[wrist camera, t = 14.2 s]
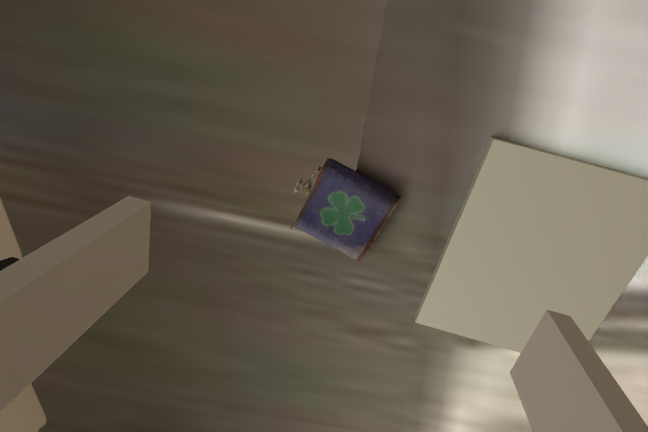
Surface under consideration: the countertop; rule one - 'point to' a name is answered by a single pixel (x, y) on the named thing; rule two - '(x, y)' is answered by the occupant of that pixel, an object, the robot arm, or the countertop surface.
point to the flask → (344, 208)
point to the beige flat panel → (536, 246)
